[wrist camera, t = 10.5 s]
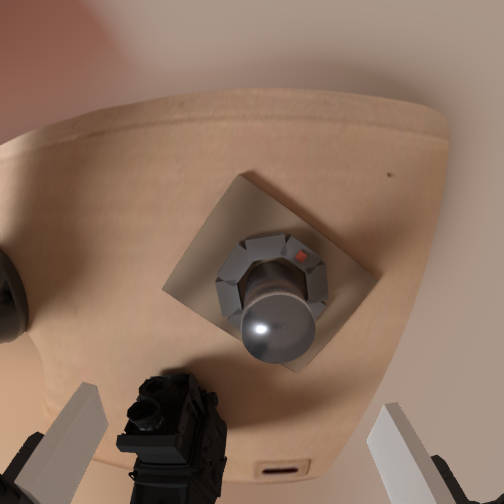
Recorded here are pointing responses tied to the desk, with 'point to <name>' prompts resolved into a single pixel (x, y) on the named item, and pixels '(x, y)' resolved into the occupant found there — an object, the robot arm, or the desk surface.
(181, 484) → the camera
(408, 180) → the desk surface
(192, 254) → the mount board
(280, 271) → the lens
